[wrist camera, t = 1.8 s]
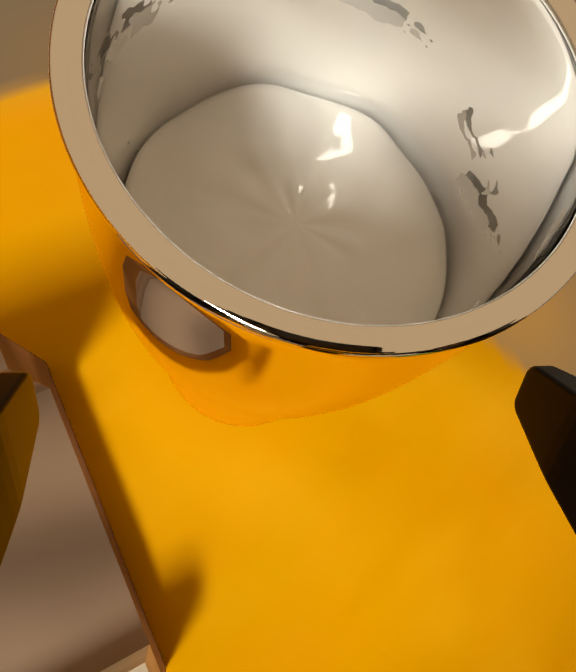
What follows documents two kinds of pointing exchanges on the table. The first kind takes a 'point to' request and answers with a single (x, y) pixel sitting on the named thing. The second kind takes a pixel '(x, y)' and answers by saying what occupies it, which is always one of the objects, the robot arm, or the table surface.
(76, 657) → the grey bracket
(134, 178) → the beer glass
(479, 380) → the table surface
